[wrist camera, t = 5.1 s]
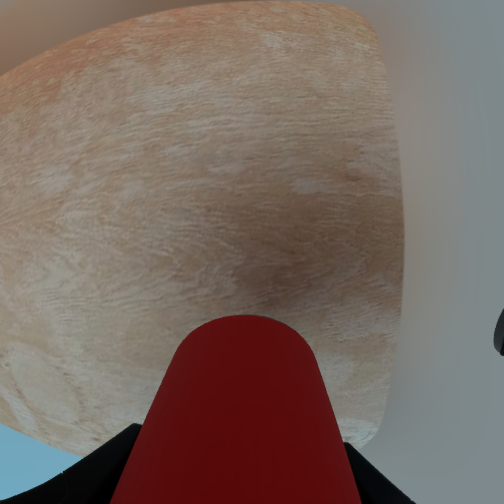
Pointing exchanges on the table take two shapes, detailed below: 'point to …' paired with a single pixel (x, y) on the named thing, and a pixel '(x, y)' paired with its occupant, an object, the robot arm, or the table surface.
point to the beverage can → (240, 424)
